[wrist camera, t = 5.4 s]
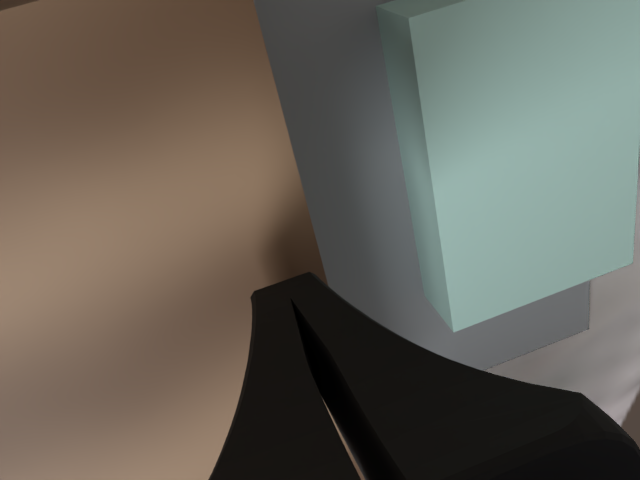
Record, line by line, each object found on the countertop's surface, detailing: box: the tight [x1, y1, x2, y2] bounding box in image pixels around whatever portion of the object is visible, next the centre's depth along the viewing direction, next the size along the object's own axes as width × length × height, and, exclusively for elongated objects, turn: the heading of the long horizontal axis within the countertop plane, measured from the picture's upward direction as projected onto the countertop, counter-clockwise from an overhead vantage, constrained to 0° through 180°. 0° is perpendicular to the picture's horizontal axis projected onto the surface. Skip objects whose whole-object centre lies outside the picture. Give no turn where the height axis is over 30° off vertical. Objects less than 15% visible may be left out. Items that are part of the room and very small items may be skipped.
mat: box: [253, 0, 590, 371], centre depth 18 cm, size 16×9×1 cm, turn 12°
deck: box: [0, 0, 365, 480], centre depth 15 cm, size 15×12×4 cm
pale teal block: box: [375, 0, 640, 332], centre depth 16 cm, size 9×6×2 cm, turn 13°
